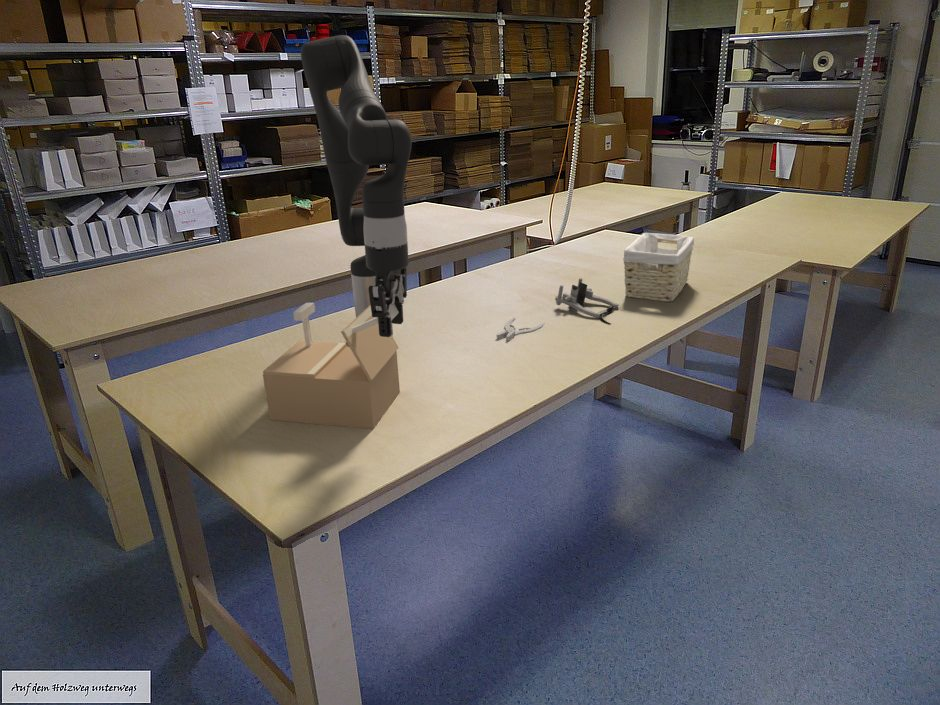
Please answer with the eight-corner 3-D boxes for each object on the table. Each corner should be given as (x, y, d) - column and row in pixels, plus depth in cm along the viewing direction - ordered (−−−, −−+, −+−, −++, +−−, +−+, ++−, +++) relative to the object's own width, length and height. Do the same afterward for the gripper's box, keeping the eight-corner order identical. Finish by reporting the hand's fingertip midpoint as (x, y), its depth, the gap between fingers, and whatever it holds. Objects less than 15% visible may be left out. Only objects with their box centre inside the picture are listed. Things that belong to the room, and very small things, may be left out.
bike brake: (549, 306, 188) (608, 332, 177) (552, 284, 185) (613, 309, 173) (577, 295, 197) (635, 319, 186) (581, 274, 194) (640, 297, 182)
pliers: (545, 320, 177) (519, 339, 165) (545, 325, 177) (519, 344, 166) (512, 314, 181) (485, 332, 170) (512, 320, 182) (485, 338, 170)
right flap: (371, 304, 135) (408, 286, 132) (396, 348, 138) (433, 333, 135) (340, 331, 121) (381, 313, 118) (369, 381, 124) (410, 364, 121)
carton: (306, 384, 148) (294, 302, 140) (400, 391, 143) (393, 306, 135) (270, 419, 133) (255, 330, 125) (373, 428, 128) (364, 336, 120)
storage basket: (674, 305, 188) (679, 254, 183) (618, 298, 196) (621, 249, 190) (691, 282, 208) (696, 235, 202) (639, 276, 215) (643, 231, 209)
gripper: (379, 230, 123) (385, 315, 130) (350, 249, 110) (358, 342, 117) (418, 232, 122) (422, 317, 128) (392, 251, 109) (398, 345, 115)
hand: (391, 329), depth 123 cm, fingers closed on right flap, 6 cm apart
